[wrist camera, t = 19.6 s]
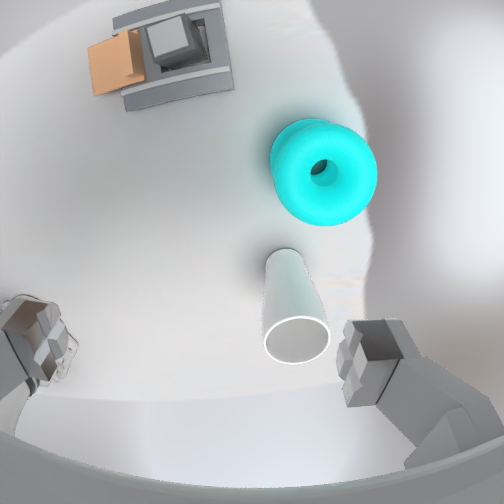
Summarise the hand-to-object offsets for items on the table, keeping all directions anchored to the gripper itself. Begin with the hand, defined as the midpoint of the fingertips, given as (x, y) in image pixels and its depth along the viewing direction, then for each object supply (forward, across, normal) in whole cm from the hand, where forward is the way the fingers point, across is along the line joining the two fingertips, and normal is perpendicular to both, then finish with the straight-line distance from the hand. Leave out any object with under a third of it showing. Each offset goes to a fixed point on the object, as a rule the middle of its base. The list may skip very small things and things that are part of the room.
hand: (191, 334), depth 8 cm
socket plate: (+30, +8, -12) cm, 34 cm away
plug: (+30, +6, -12) cm, 33 cm away
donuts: (+31, -9, 0) cm, 32 cm away
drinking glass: (+31, -7, +15) cm, 35 cm away
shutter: (+27, +14, -11) cm, 33 cm away
